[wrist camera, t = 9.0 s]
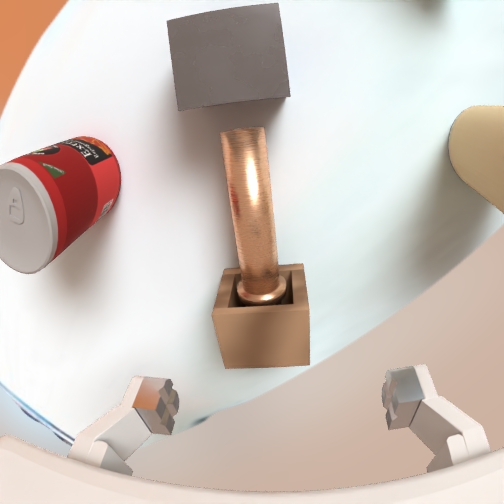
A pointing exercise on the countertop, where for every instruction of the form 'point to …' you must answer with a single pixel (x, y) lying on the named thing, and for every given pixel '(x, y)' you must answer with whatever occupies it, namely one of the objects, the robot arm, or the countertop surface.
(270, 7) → the sleeve
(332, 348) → the countertop surface
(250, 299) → the tube
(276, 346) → the socket
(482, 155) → the coffee cup
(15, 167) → the canned food
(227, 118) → the countertop surface
